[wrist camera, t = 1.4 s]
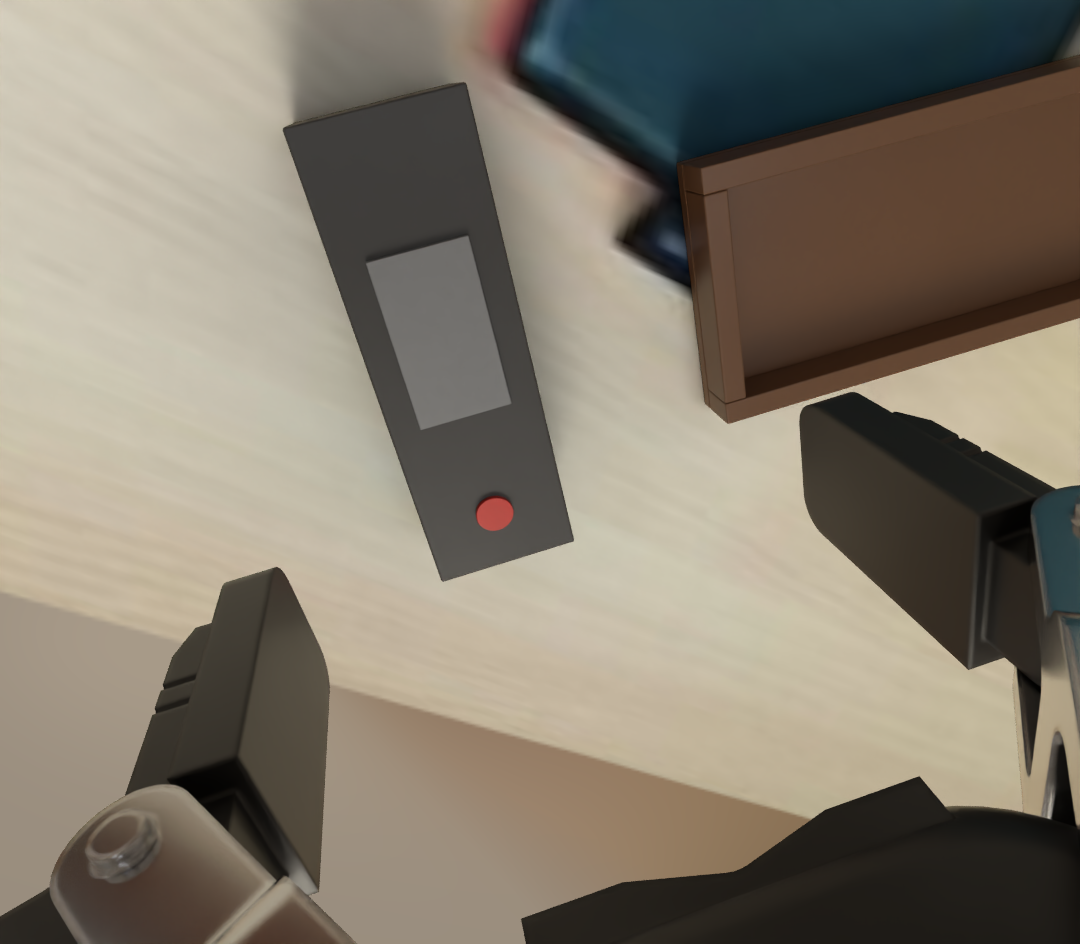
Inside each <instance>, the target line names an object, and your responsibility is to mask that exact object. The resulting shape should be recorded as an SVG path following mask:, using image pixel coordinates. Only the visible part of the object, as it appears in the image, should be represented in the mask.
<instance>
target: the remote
mask: <svg viewBox="0 0 1080 944" xmlns="http://www.w3.org/2000/svg"><path fill="white" fill-rule="evenodd" d="M283 132H284V135H285V138H286V141H287V144H288V146H289V149H290V152H291V155H292V158H293V161H294V163H295V166H296V169H297V172H298V175H299V178H300V180H301V183H302V186H303V189H304V192H305V195H306V197H307V200H308V203H309V206H310V209H311V212H312V214H313V217H314V220H315V223H316V226H317V229H318V232H319V234H320V237H321V240H322V243H323V246H324V249H325V251H326V254H327V257H328V260H329V263H330V266H331V268H332V271H333V274H334V277H335V280H336V283H337V285H338V288H339V291H340V294H341V297H342V300H343V302H344V305H345V308H346V311H347V314H348V317H349V320H350V322H351V325H352V328H353V331H354V334H355V337H356V339H357V342H358V345H359V348H360V351H361V354H362V356H363V359H364V362H365V365H366V368H367V371H368V373H369V376H370V379H371V382H372V385H373V388H374V390H375V393H376V396H377V399H378V402H379V405H380V408H381V410H382V413H383V416H384V419H385V422H386V425H387V427H388V430H389V433H390V436H391V439H392V442H393V444H394V447H395V450H396V453H397V456H398V459H399V461H400V464H401V467H402V470H403V473H404V476H405V478H406V481H407V484H408V487H409V490H410V493H411V495H412V498H413V501H414V504H415V507H416V510H417V513H418V515H419V518H420V521H421V524H422V527H423V530H424V532H425V535H426V538H427V541H428V544H429V547H430V549H431V552H432V555H433V558H434V561H435V564H436V566H437V569H438V572H439V575H440V578H441V580H442V581H443V582H444V581H447V580H450V579H453V578H457V577H460V576H463V575H466V574H469V573H473V572H476V571H479V570H482V569H486V568H489V567H492V566H495V565H498V564H502V563H505V562H508V561H511V560H515V559H518V558H521V557H524V556H527V555H531V554H534V553H537V552H540V551H544V550H547V549H550V548H553V547H556V546H560V545H563V544H566V543H569V542H573V541H574V538H573V534H572V529H571V525H570V521H569V517H568V512H567V508H566V504H565V500H564V496H563V491H562V487H561V483H560V479H559V474H558V470H557V466H556V462H555V457H554V453H553V449H552V445H551V440H550V436H549V432H548V428H547V424H546V419H545V415H544V411H543V407H542V402H541V398H540V394H539V390H538V385H537V381H536V377H535V373H534V368H533V364H532V360H531V356H530V352H529V347H528V343H527V339H526V335H525V330H524V326H523V322H522V318H521V313H520V309H519V305H518V301H517V296H516V292H515V288H514V284H513V279H512V275H511V271H510V267H509V263H508V258H507V254H506V250H505V246H504V241H503V237H502V233H501V229H500V224H499V220H498V216H497V212H496V207H495V203H494V199H493V195H492V191H491V186H490V182H489V178H488V174H487V169H486V165H485V161H484V157H483V152H482V148H481V144H480V140H479V135H478V131H477V127H476V123H475V119H474V114H473V110H472V106H471V102H470V97H469V93H468V89H467V85H466V83H464V82H462V83H452V84H446V85H442V86H438V87H434V88H430V89H426V90H422V91H418V92H414V93H410V94H406V95H402V96H398V97H394V98H391V99H387V100H383V101H379V102H375V103H371V104H367V105H363V106H359V107H355V108H351V109H347V110H343V111H339V112H335V113H331V114H327V115H323V116H319V117H315V118H311V119H307V120H303V121H299V122H295V123H293V124H291V125H288V126H286V127H284V128H283Z"/></svg>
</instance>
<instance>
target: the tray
mask: <svg viewBox="0 0 1080 944" xmlns="http://www.w3.org/2000/svg"><path fill="white" fill-rule="evenodd" d="M677 172H678V180H679V189H680V197H681V206H682V214H683V222H684V231H685V239H686V248H687V256H688V264H689V273H690V281H691V289H692V298H693V306H694V315H695V323H696V331H697V340H698V348H699V356H700V365H701V373H702V382H703V390H704V398H705V404H706V405H707V406H708V407H709V408H711V409H712V410H713V411H714V412H715V413H716V414H717V415H718V416H719V417H721V418H722V419H723V420H724V421H725V422H726V423H727V424H730V423H733V422H736V421H739V420H743V419H746V418H749V417H753V416H756V415H759V414H763V413H766V412H769V411H773V410H776V409H779V408H783V407H786V406H789V405H792V404H796V403H799V402H802V401H806V400H809V399H812V398H816V397H819V396H822V395H826V394H829V393H832V392H836V391H839V390H842V389H846V388H849V387H852V386H855V385H859V384H862V383H865V382H869V381H872V380H875V379H879V378H882V377H885V376H889V375H892V374H895V373H899V372H902V371H905V370H908V369H912V368H915V367H918V366H922V365H925V364H928V363H932V362H935V361H938V360H942V359H945V358H948V357H952V356H955V355H958V354H962V353H965V352H968V351H971V350H975V349H978V348H981V347H985V346H988V345H991V344H995V343H998V342H1001V341H1005V340H1008V339H1011V338H1015V337H1018V336H1021V335H1025V334H1028V333H1031V332H1034V331H1038V330H1041V329H1044V328H1048V327H1051V326H1054V325H1058V324H1061V323H1064V322H1068V321H1071V320H1074V319H1078V318H1080V55H1077V56H1073V57H1069V58H1066V59H1062V60H1058V61H1054V62H1051V63H1047V64H1043V65H1039V66H1036V67H1032V68H1028V69H1024V70H1021V71H1017V72H1013V73H1010V74H1006V75H1002V76H998V77H995V78H991V79H987V80H983V81H980V82H976V83H972V84H968V85H965V86H961V87H957V88H954V89H950V90H946V91H942V92H939V93H935V94H931V95H927V96H924V97H920V98H916V99H912V100H909V101H905V102H901V103H898V104H894V105H890V106H886V107H883V108H879V109H875V110H871V111H868V112H864V113H860V114H856V115H853V116H849V117H845V118H841V119H838V120H834V121H830V122H827V123H823V124H819V125H815V126H812V127H808V128H804V129H800V130H797V131H793V132H789V133H785V134H782V135H778V136H774V137H771V138H767V139H763V140H759V141H756V142H752V143H748V144H744V145H741V146H737V147H733V148H729V149H726V150H722V151H718V152H714V153H711V154H707V155H703V156H700V157H696V158H692V159H688V160H685V161H681V162H678V163H677Z"/></svg>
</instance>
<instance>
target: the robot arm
mask: <svg viewBox="0 0 1080 944" xmlns="http://www.w3.org/2000/svg"><path fill="white" fill-rule="evenodd" d="M799 422H800V440H801V456H802V472H803V487H804V498H805V503H806V506H807V509H808V512H809V515H810V517H811V519H812V521H813V523H814V524H815V526H816V527H817V529H818V530H819V531H820V532H821V533H822V534H823V535H824V536H825V537H826V538H827V539H828V540H829V541H830V542H831V543H832V544H833V545H834V546H835V547H837V548H838V549H839V550H840V551H841V552H842V553H843V554H844V555H845V556H846V557H847V558H848V559H850V560H851V561H852V562H853V563H854V564H855V565H856V566H857V567H858V568H859V569H860V570H861V571H862V572H864V573H865V574H866V575H867V576H868V577H869V578H870V579H871V580H872V581H873V582H874V583H875V584H876V585H878V586H879V587H880V588H881V589H882V590H883V591H884V592H885V593H886V594H887V595H888V596H889V597H890V598H892V599H893V600H894V601H895V602H896V603H897V604H898V605H899V606H900V607H901V608H902V609H903V610H905V611H906V612H907V613H908V614H909V615H910V616H911V617H912V618H913V619H914V620H915V621H916V622H917V623H919V624H920V625H921V626H922V627H923V628H924V629H925V630H926V631H927V632H928V633H929V634H930V635H931V636H933V637H934V638H935V639H936V640H937V641H938V642H939V643H940V644H941V645H942V646H943V647H944V648H945V649H947V650H948V651H949V652H950V653H951V654H952V655H953V656H954V657H955V658H956V659H957V660H958V661H960V662H961V663H962V664H963V665H964V666H965V667H966V668H967V669H968V670H969V669H972V668H975V667H978V666H981V665H984V664H987V663H990V662H993V661H995V660H998V659H1001V658H1004V657H1005V658H1006V659H1007V660H1009V661H1010V662H1011V663H1012V664H1013V665H1014V676H1013V698H1014V709H1015V721H1016V732H1017V744H1018V755H1019V767H1020V778H1021V790H1022V804H1023V812H1018V811H1013V810H1007V809H999V808H990V807H979V806H949V807H945V806H944V805H943V804H942V803H941V801H940V800H939V799H938V798H937V797H936V796H935V794H934V793H933V792H932V791H931V790H930V788H929V787H928V786H927V785H926V784H925V782H924V781H923V780H922V779H921V778H920V776H919V777H916V778H913V779H910V780H908V781H905V782H902V783H899V784H896V785H894V786H891V787H888V788H885V789H882V790H880V791H877V792H874V793H871V794H868V795H866V796H863V797H860V798H857V799H854V800H852V801H849V802H846V803H843V804H840V805H838V806H835V807H832V808H829V809H826V810H824V811H823V812H822V813H820V814H819V815H817V816H816V817H815V818H813V819H812V820H810V821H809V822H808V823H806V824H805V825H803V826H802V827H801V828H799V829H798V830H796V831H795V832H793V833H792V834H791V835H789V836H788V837H786V838H785V839H784V840H782V841H781V842H779V843H778V844H777V845H775V846H774V847H772V848H771V849H769V850H768V851H767V852H765V853H764V854H762V855H761V856H760V857H758V858H757V859H756V860H754V861H753V862H751V863H750V864H748V865H747V866H745V867H743V868H742V869H739V870H737V871H734V872H728V873H720V874H710V875H698V876H687V877H676V878H666V879H656V880H644V881H633V882H623V883H620V884H617V885H614V886H611V887H608V888H606V889H603V890H600V891H597V892H595V893H592V894H589V895H586V896H583V897H581V898H578V899H575V900H573V901H570V902H567V903H564V904H561V905H558V906H556V907H553V908H550V909H547V910H545V911H541V912H539V913H536V914H533V915H530V916H528V917H525V918H522V919H521V920H522V926H523V931H524V936H525V941H526V944H1080V485H1078V486H1070V487H1064V488H1060V489H1055V488H1053V487H1051V486H1050V485H1048V484H1046V483H1044V482H1042V481H1041V480H1039V479H1037V478H1035V477H1033V476H1032V475H1030V474H1028V473H1026V472H1024V471H1022V470H1021V469H1019V468H1017V467H1015V466H1013V465H1012V464H1010V463H1008V462H1006V461H1004V460H1002V459H1001V458H999V457H997V456H995V455H993V454H992V453H990V452H988V451H983V452H982V451H981V448H980V447H979V446H977V445H975V444H973V443H972V442H970V441H968V440H966V439H964V438H962V439H959V437H958V435H957V434H955V433H953V432H952V431H950V430H948V429H946V428H944V427H942V426H941V425H939V424H937V423H935V422H933V421H932V420H928V419H924V418H919V417H915V416H911V415H907V414H903V413H899V412H893V413H891V412H890V411H888V410H886V409H885V408H883V407H881V406H879V405H878V404H876V403H874V402H872V401H871V400H869V399H867V398H865V397H864V396H862V395H860V394H858V393H856V392H850V393H846V394H843V395H840V396H836V397H833V398H830V399H827V400H823V401H820V402H817V403H814V404H810V405H807V406H805V407H804V408H803V409H802V411H801V414H800V421H799ZM163 687H164V690H162V691H161V692H160V695H159V697H158V701H157V703H156V706H155V710H156V714H154V715H152V718H151V721H150V724H149V727H148V730H147V733H146V736H145V738H144V742H143V744H142V747H141V750H140V753H139V756H138V759H137V762H136V765H135V768H134V771H133V774H132V776H131V779H130V782H129V785H128V788H127V791H126V794H125V796H124V797H122V798H120V799H119V800H117V801H115V802H113V803H112V804H110V805H109V806H107V807H106V808H104V809H103V810H102V811H100V812H99V813H98V814H96V815H95V816H94V817H93V818H92V819H91V820H89V821H88V822H87V823H86V824H85V825H84V826H83V827H82V828H81V829H80V830H79V831H78V832H77V833H76V835H75V836H74V837H73V838H72V839H71V840H70V842H69V843H68V844H67V846H66V848H65V849H64V850H63V852H62V853H61V855H60V857H59V859H58V860H57V862H56V864H55V867H54V870H53V872H52V875H51V881H50V887H49V888H47V889H46V890H44V891H43V892H41V893H39V894H38V895H36V896H34V897H33V898H31V899H29V900H27V901H26V902H24V903H23V904H21V905H19V906H17V907H16V908H14V909H12V910H10V911H9V912H7V913H5V914H4V915H2V916H0V944H357V943H356V942H355V941H354V940H353V939H352V938H351V937H350V936H349V935H348V934H347V933H346V932H345V931H344V930H342V928H341V927H340V926H338V924H336V923H335V922H334V921H333V920H332V919H331V918H330V917H329V916H328V915H327V914H326V913H325V912H324V911H323V910H322V909H321V908H320V907H319V906H318V905H317V904H316V903H315V902H314V901H313V900H312V899H311V898H310V897H309V895H312V894H315V893H317V892H319V882H320V863H321V843H322V824H323V807H324V805H323V804H324V788H325V769H326V750H327V732H328V713H329V694H330V685H329V676H328V671H327V666H326V663H325V659H324V656H323V653H322V651H321V648H320V646H319V644H318V642H317V639H316V637H315V635H314V633H313V631H312V629H311V627H310V625H309V623H308V621H307V619H306V616H305V614H304V612H303V610H302V608H301V606H300V604H299V602H298V600H297V598H296V595H295V593H294V591H293V589H292V587H291V585H290V583H289V581H288V579H287V577H286V575H285V574H284V573H283V571H282V570H281V569H280V568H278V567H275V568H272V569H268V570H265V571H262V572H259V573H255V574H252V575H249V576H245V577H242V578H239V579H236V580H232V581H229V582H226V583H224V585H223V586H222V589H221V592H220V595H219V599H218V602H217V606H216V609H215V613H214V616H213V620H212V623H210V624H207V625H204V626H200V627H197V628H195V629H194V631H193V632H192V633H191V634H190V636H189V637H188V638H187V639H186V641H185V642H184V643H183V644H182V646H181V647H180V648H179V649H178V651H177V652H176V653H175V654H174V655H173V657H172V660H171V662H170V665H169V668H168V671H167V674H166V677H165V680H164V683H163Z"/></svg>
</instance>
